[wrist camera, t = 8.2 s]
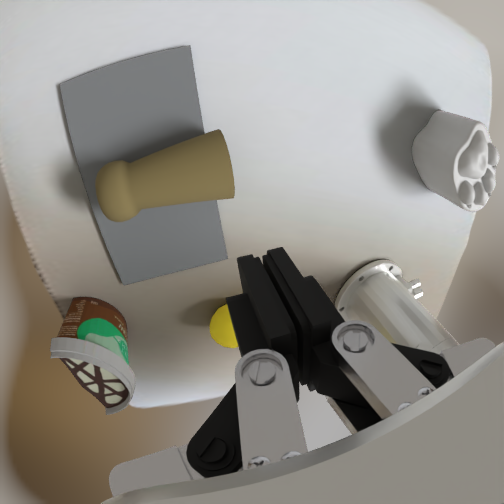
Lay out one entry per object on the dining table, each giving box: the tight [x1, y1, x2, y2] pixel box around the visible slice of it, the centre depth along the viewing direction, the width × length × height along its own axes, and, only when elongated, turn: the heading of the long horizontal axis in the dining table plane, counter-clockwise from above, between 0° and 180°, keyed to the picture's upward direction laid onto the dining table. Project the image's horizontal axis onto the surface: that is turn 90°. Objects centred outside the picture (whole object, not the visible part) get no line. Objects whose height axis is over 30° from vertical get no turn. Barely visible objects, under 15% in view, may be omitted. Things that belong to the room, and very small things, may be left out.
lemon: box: [210, 304, 239, 348], centre depth 34 cm, size 7×5×5 cm
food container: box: [50, 297, 136, 415], centre depth 28 cm, size 12×6×10 cm, turn 6°
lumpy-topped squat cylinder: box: [412, 110, 499, 212], centre depth 29 cm, size 10×13×9 cm
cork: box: [95, 129, 235, 222], centre depth 23 cm, size 6×6×11 cm
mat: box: [60, 45, 228, 285], centre depth 25 cm, size 12×22×1 cm, turn 6°
